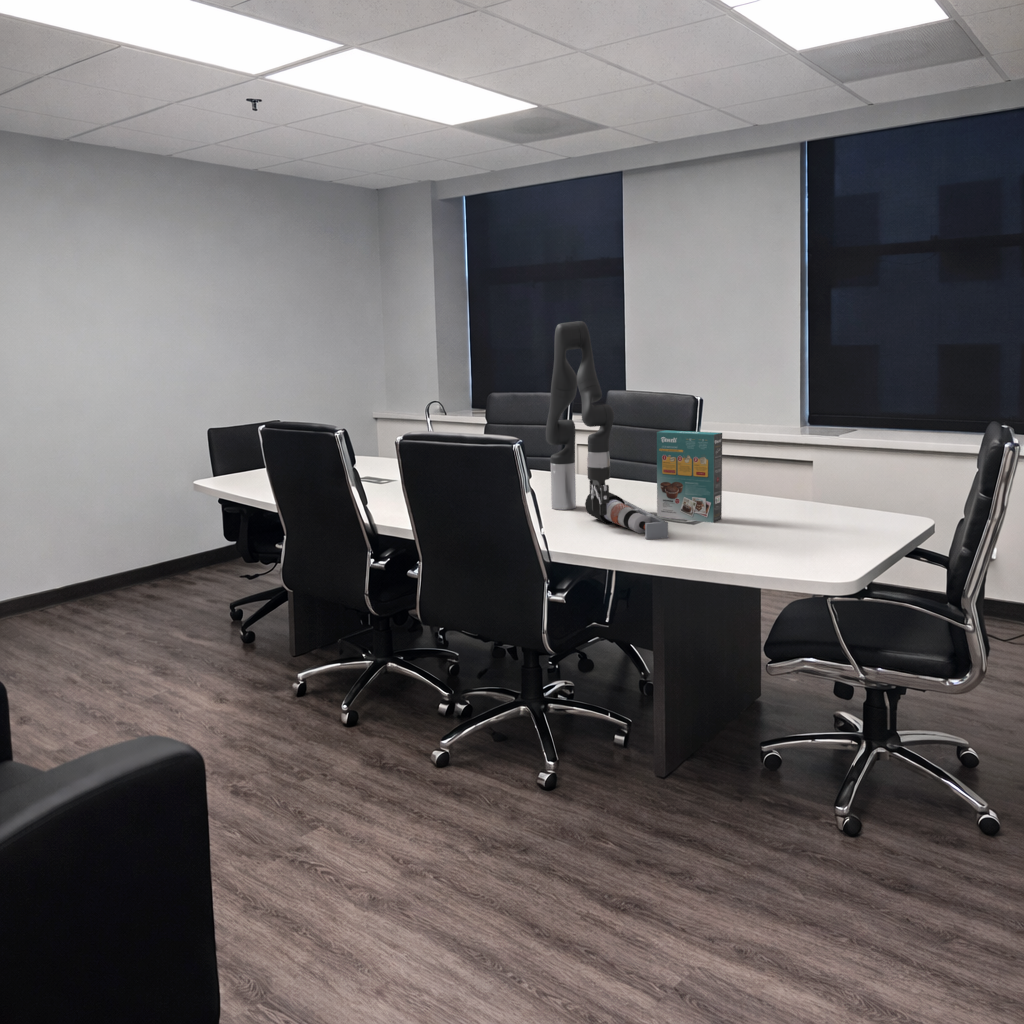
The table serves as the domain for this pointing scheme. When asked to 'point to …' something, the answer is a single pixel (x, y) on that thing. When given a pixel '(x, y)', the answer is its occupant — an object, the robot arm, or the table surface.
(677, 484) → the cake mix box
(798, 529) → the table surface
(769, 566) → the table surface
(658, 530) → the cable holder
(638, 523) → the cable
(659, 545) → the table surface
